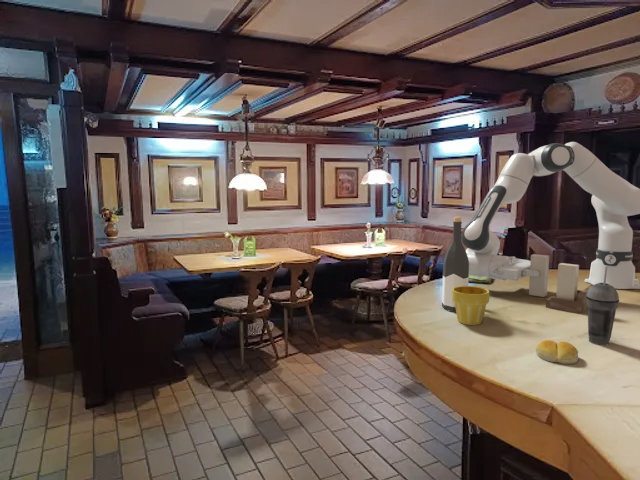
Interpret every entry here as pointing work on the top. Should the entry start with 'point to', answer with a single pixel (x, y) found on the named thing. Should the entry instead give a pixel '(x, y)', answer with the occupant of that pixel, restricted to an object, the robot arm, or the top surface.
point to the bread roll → (557, 352)
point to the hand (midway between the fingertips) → (541, 272)
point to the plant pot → (470, 303)
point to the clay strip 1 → (539, 283)
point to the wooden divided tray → (569, 302)
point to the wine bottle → (454, 267)
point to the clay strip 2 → (567, 281)
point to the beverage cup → (601, 311)
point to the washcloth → (479, 279)
